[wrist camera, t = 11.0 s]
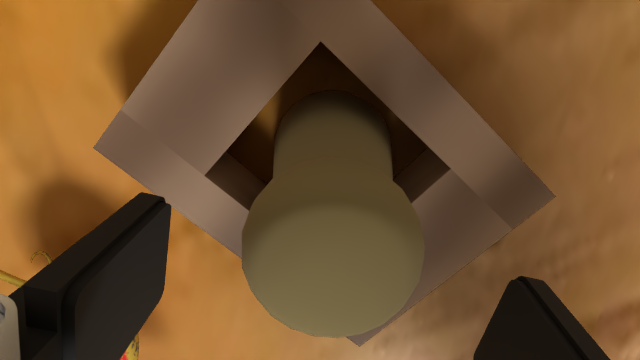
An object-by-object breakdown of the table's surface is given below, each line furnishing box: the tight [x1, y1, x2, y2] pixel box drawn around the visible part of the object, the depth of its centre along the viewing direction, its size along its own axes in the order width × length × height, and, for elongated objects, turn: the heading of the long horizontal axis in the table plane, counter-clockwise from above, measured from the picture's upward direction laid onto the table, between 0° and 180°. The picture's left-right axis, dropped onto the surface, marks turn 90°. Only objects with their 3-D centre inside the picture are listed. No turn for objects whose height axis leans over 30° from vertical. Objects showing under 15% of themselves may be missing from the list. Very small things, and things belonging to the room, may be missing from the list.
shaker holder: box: [93, 0, 556, 347], centre depth 18 cm, size 16×12×4 cm
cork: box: [242, 90, 425, 338], centre depth 14 cm, size 6×6×11 cm
